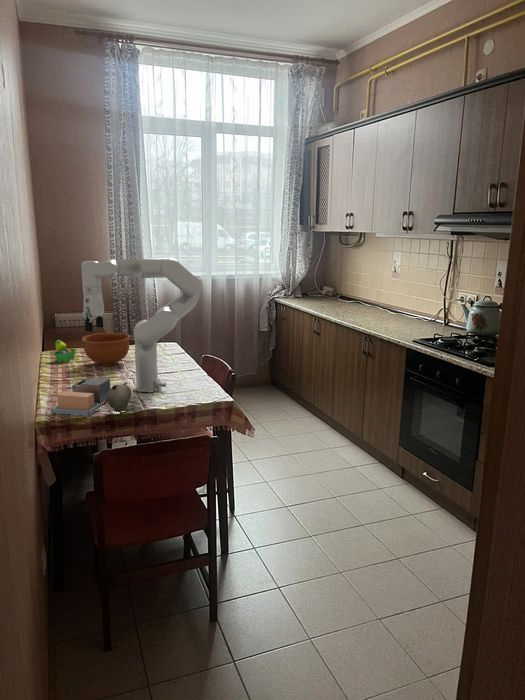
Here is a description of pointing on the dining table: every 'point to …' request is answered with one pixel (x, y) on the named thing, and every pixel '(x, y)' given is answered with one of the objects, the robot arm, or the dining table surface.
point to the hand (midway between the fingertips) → (94, 329)
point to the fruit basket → (63, 352)
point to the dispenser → (94, 388)
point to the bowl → (106, 347)
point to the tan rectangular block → (75, 401)
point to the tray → (73, 412)
